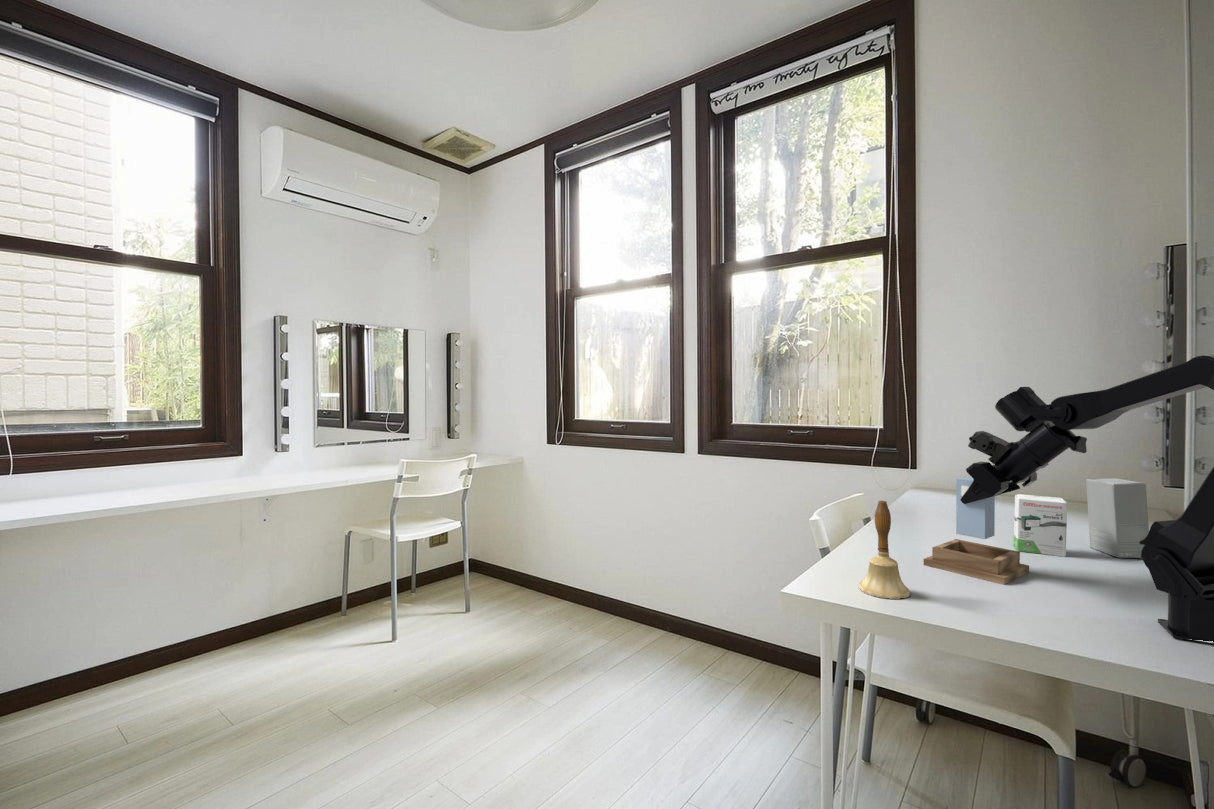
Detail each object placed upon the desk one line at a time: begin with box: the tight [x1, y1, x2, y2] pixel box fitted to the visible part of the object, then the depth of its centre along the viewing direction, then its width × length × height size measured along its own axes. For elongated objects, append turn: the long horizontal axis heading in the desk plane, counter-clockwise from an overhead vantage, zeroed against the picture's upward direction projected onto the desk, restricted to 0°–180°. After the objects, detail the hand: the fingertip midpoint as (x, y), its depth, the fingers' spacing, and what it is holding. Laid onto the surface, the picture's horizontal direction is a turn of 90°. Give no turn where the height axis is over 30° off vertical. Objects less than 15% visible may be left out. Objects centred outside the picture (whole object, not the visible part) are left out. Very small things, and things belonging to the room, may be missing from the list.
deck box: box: [955, 476, 996, 540], centre depth 108 cm, size 5×5×11 cm
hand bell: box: [857, 500, 911, 600], centre depth 97 cm, size 8×8×16 cm
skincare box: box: [1085, 477, 1150, 559], centre depth 117 cm, size 8×7×16 cm
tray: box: [923, 538, 1030, 585], centre depth 108 cm, size 12×14×4 cm
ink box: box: [1012, 493, 1068, 558], centre depth 119 cm, size 9×5×12 cm, turn 60°
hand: (967, 500), depth 109 cm, fingers closed on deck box, 5 cm apart
